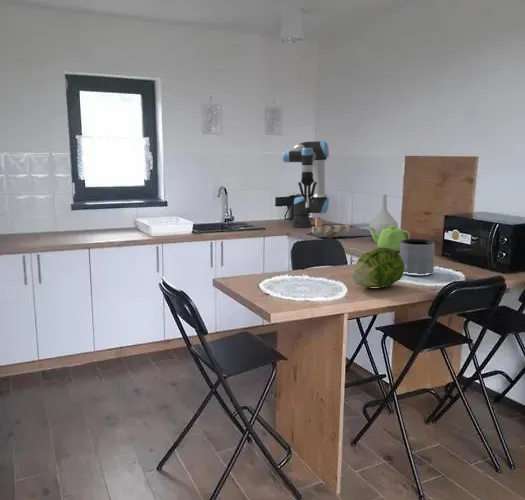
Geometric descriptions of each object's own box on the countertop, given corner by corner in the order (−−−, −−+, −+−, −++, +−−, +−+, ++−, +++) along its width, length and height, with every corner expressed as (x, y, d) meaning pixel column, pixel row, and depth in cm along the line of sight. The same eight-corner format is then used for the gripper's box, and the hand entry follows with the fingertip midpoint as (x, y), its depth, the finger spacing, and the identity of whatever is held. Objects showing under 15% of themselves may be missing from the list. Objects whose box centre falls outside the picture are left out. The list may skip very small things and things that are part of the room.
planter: (431, 270, 257) (433, 239, 254) (434, 277, 241) (436, 245, 238) (398, 268, 260) (399, 238, 257) (399, 276, 245) (400, 244, 242)
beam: (314, 238, 349) (314, 227, 347) (311, 237, 356) (311, 226, 355) (351, 237, 353) (351, 226, 352) (347, 235, 361) (347, 224, 359)
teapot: (414, 251, 303) (415, 226, 301) (385, 254, 296) (386, 229, 293) (394, 245, 320) (395, 222, 318) (367, 248, 313) (367, 225, 310)
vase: (400, 239, 342) (402, 193, 336) (393, 243, 326) (395, 196, 321) (373, 237, 351) (374, 193, 345) (365, 241, 335) (366, 195, 329)
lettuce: (341, 286, 231) (341, 251, 223) (382, 272, 240) (384, 238, 233) (367, 303, 217) (368, 266, 209) (409, 287, 226) (411, 251, 219)
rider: (316, 229, 350) (316, 217, 349) (315, 228, 353) (315, 216, 352) (322, 229, 351) (322, 217, 349) (320, 228, 354) (320, 216, 352)
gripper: (299, 172, 338) (299, 208, 343) (318, 171, 341) (318, 207, 345) (296, 171, 346) (296, 207, 350) (315, 171, 348) (315, 206, 352)
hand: (307, 207), depth 347 cm, fingers closed
